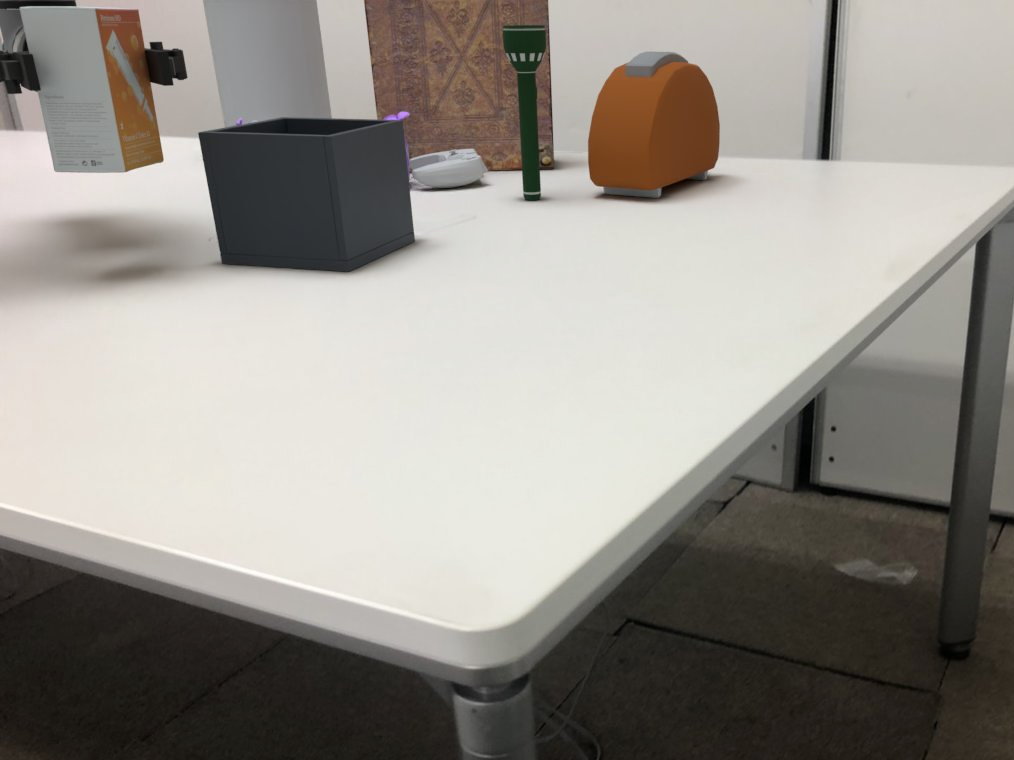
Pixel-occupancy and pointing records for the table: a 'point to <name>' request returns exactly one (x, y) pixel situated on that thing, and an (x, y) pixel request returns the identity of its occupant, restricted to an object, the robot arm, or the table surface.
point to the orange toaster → (653, 126)
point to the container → (268, 59)
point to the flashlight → (527, 96)
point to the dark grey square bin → (309, 191)
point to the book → (457, 76)
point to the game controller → (448, 168)
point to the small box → (93, 87)
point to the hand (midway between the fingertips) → (100, 70)
